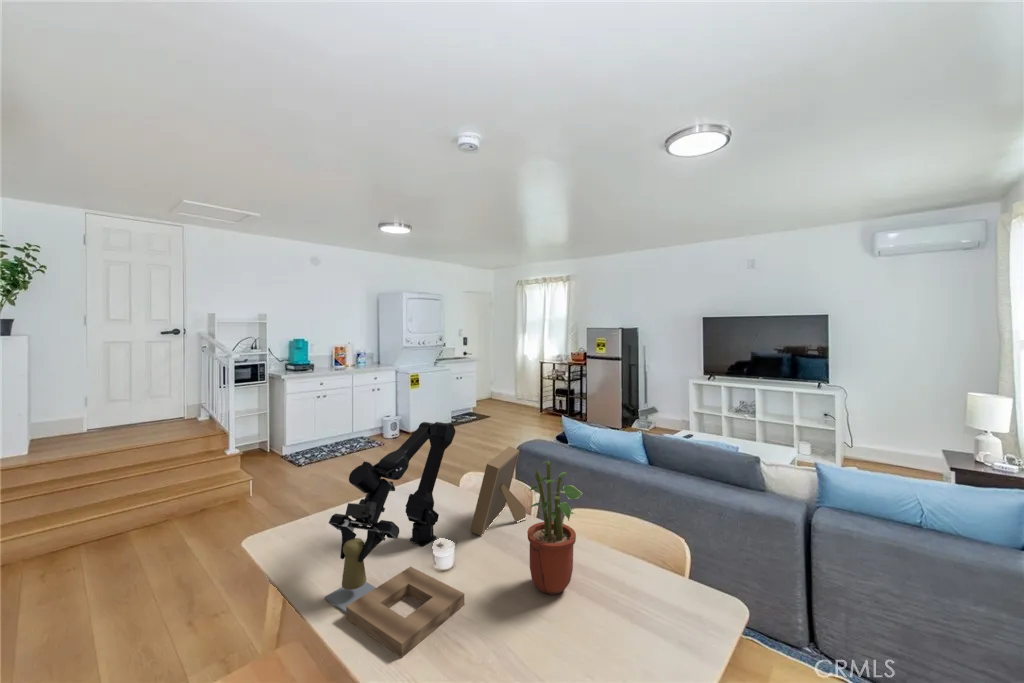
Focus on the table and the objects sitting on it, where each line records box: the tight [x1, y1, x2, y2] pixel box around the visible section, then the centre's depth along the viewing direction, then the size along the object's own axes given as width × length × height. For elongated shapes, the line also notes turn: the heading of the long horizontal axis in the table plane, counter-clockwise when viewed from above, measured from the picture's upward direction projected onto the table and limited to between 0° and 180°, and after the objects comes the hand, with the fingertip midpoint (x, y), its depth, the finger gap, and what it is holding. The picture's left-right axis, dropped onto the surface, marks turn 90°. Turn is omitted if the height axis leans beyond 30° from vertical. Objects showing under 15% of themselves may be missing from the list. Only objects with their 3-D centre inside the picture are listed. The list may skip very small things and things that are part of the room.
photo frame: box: [470, 445, 527, 536], centre depth 144 cm, size 15×22×25 cm
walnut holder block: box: [345, 566, 465, 658], centre depth 99 cm, size 20×20×3 cm
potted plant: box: [525, 460, 584, 595], centre depth 111 cm, size 17×16×35 cm
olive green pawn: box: [341, 537, 367, 590], centre depth 105 cm, size 6×6×11 cm
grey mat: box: [323, 581, 377, 614], centre depth 105 cm, size 10×10×1 cm
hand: (350, 560), depth 104 cm, fingers closed on olive green pawn, 5 cm apart
